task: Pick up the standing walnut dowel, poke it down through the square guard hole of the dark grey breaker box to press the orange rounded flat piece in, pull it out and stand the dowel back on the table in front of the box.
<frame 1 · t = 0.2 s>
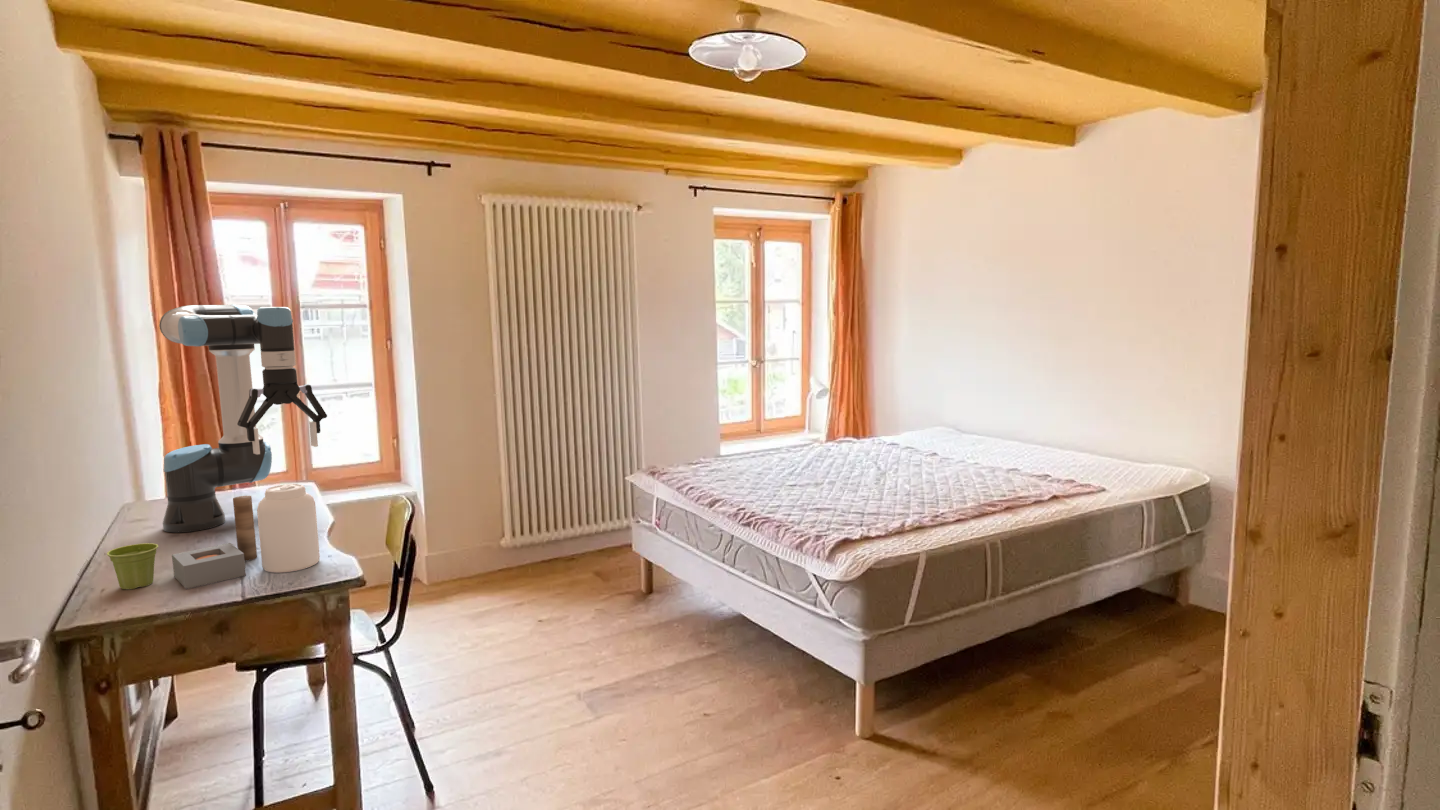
hand: (286, 449, 195), 27 cm above the table, fingers open, 13 cm apart
can: (291, 565, 188), on the table
dowel: (248, 558, 193), on the table
breaker box: (210, 576, 180), on the table
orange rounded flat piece: (208, 561, 180), point 4 cm above the table, slide at 0.0 cm
plant pot: (137, 586, 175), on the table
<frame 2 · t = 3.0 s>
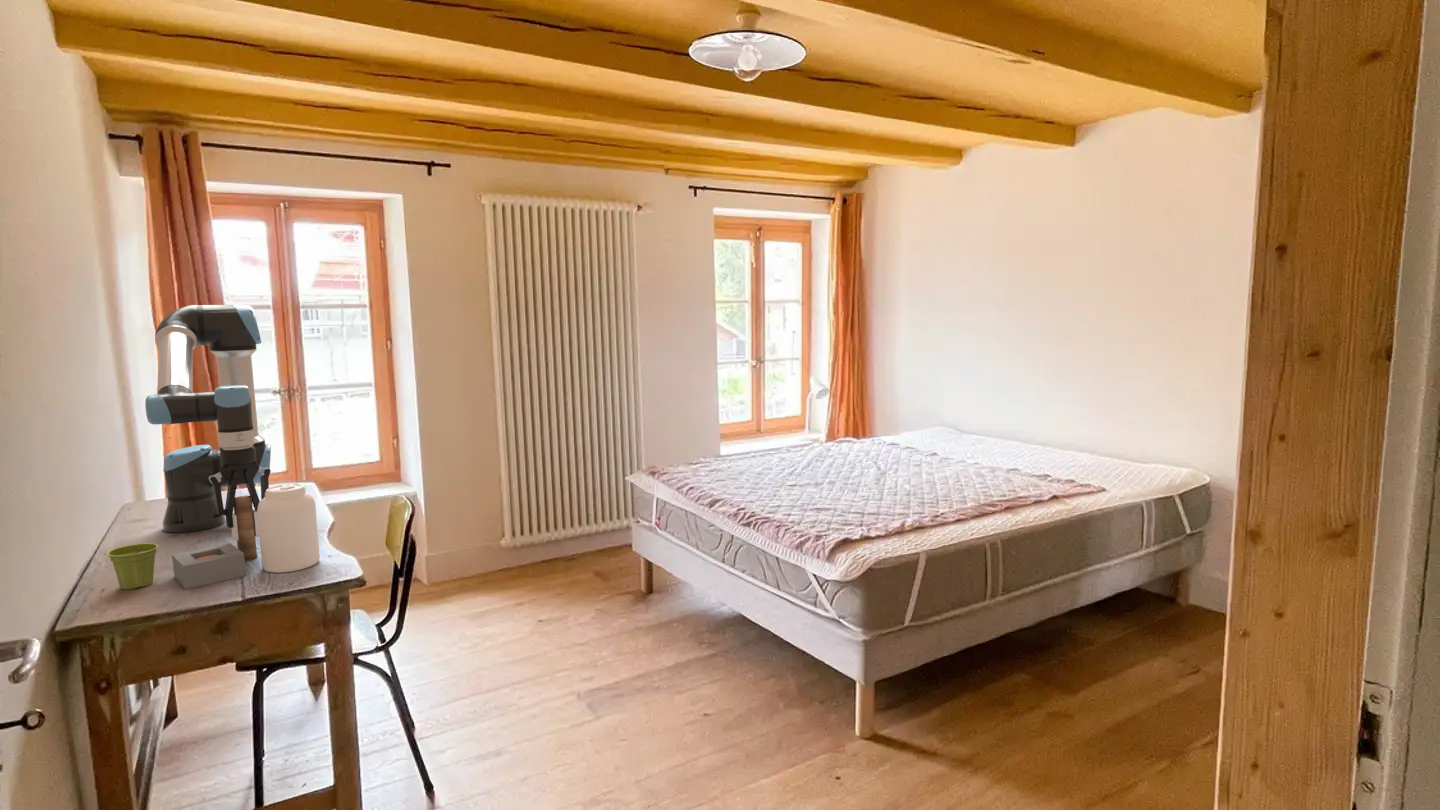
hand: (246, 537, 192), 6 cm above the table, fingers closed on dowel, 4 cm apart
dowel: (248, 558, 193), on the table, touching gripper
everything else where it was.
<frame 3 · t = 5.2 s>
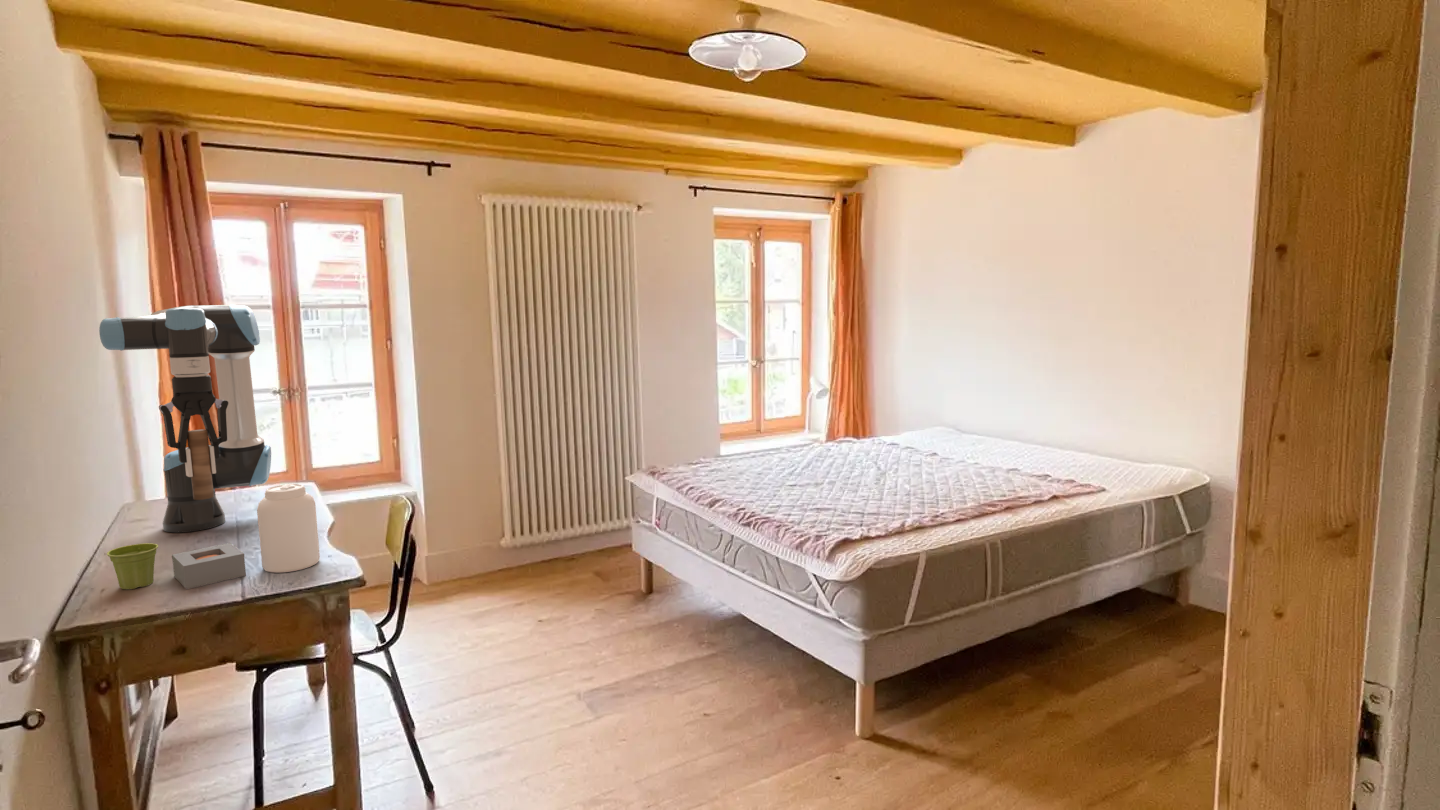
hand: (201, 474, 177), 25 cm above the table, fingers closed on dowel, 4 cm apart
dowel: (203, 497, 178), point 19 cm above the table, touching gripper
everything else where it was.
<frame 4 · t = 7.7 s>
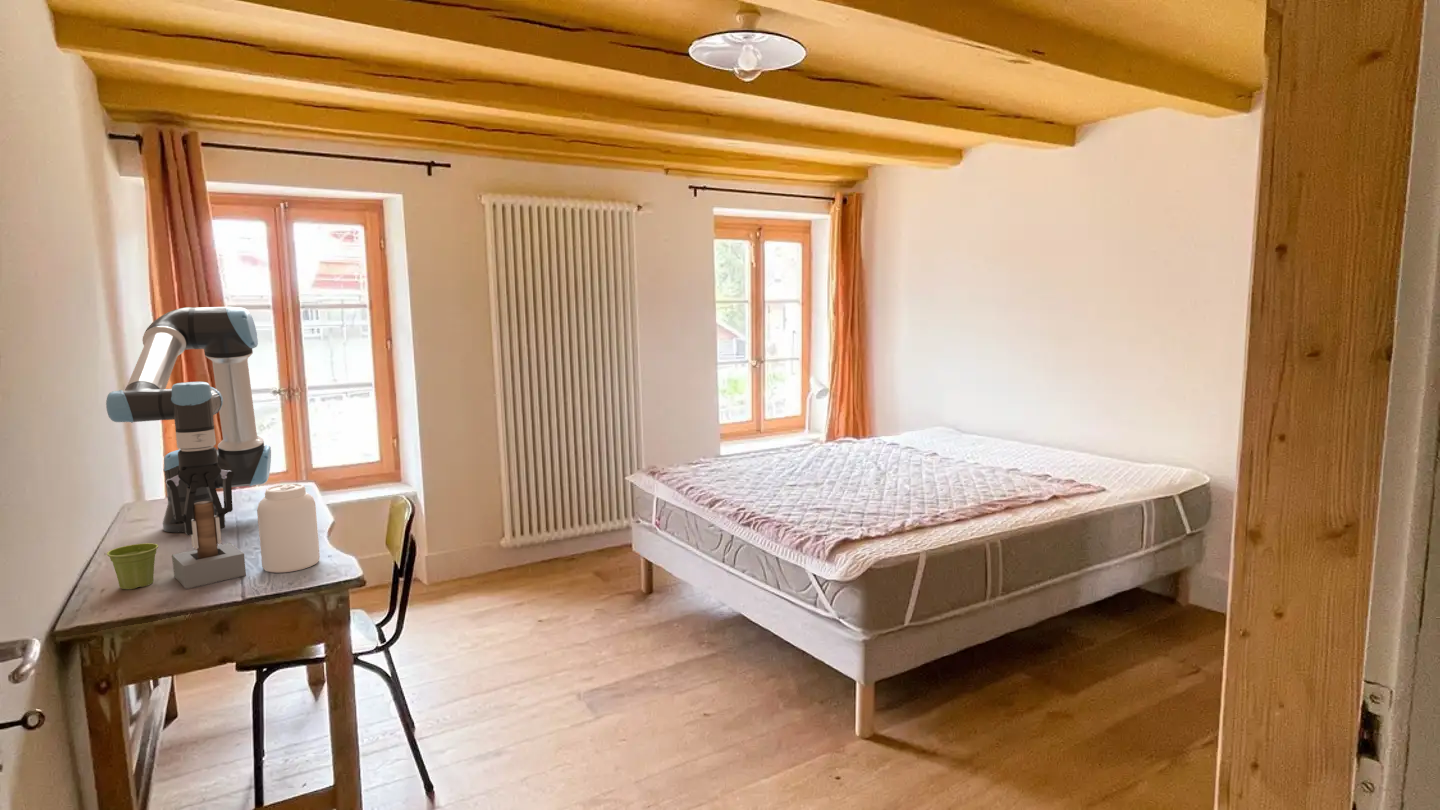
hand: (206, 544, 179), 8 cm above the table, fingers closed on dowel, 4 cm apart
dowel: (209, 568, 180), point 2 cm above the table, touching gripper, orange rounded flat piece
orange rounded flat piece: (209, 571, 180), point 1 cm above the table, slide at 2.5 cm, touching breaker box, dowel
everything else where it was.
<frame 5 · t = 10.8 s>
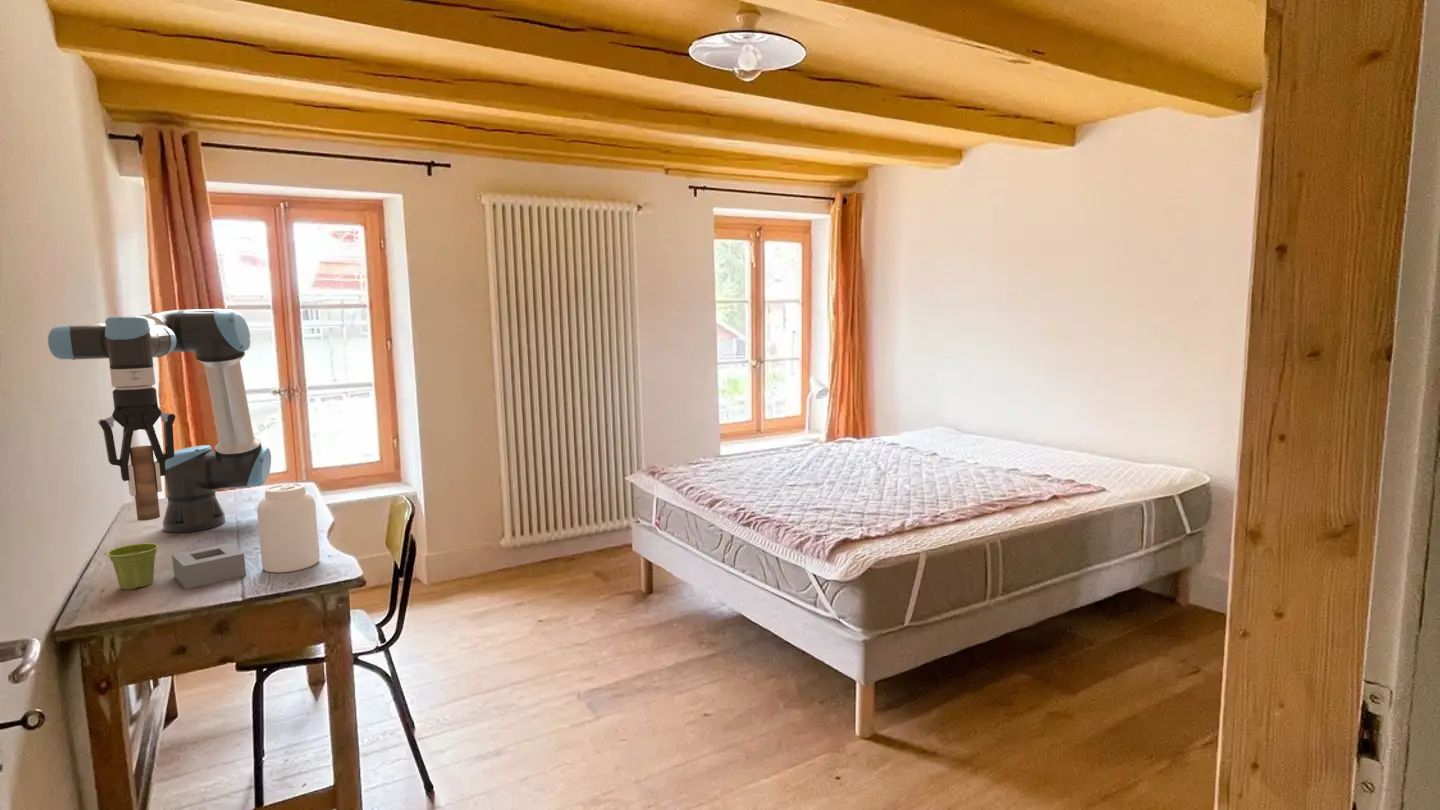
hand: (145, 492, 167), 23 cm above the table, fingers closed on dowel, 4 cm apart
dowel: (148, 518, 167), point 17 cm above the table, touching gripper
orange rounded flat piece: (209, 571, 180), point 1 cm above the table, slide at 2.5 cm, touching breaker box
everything else where it was.
when the fingers open (7 cm above the table, at t = 13.9 s): dowel stays where it is, on the table.
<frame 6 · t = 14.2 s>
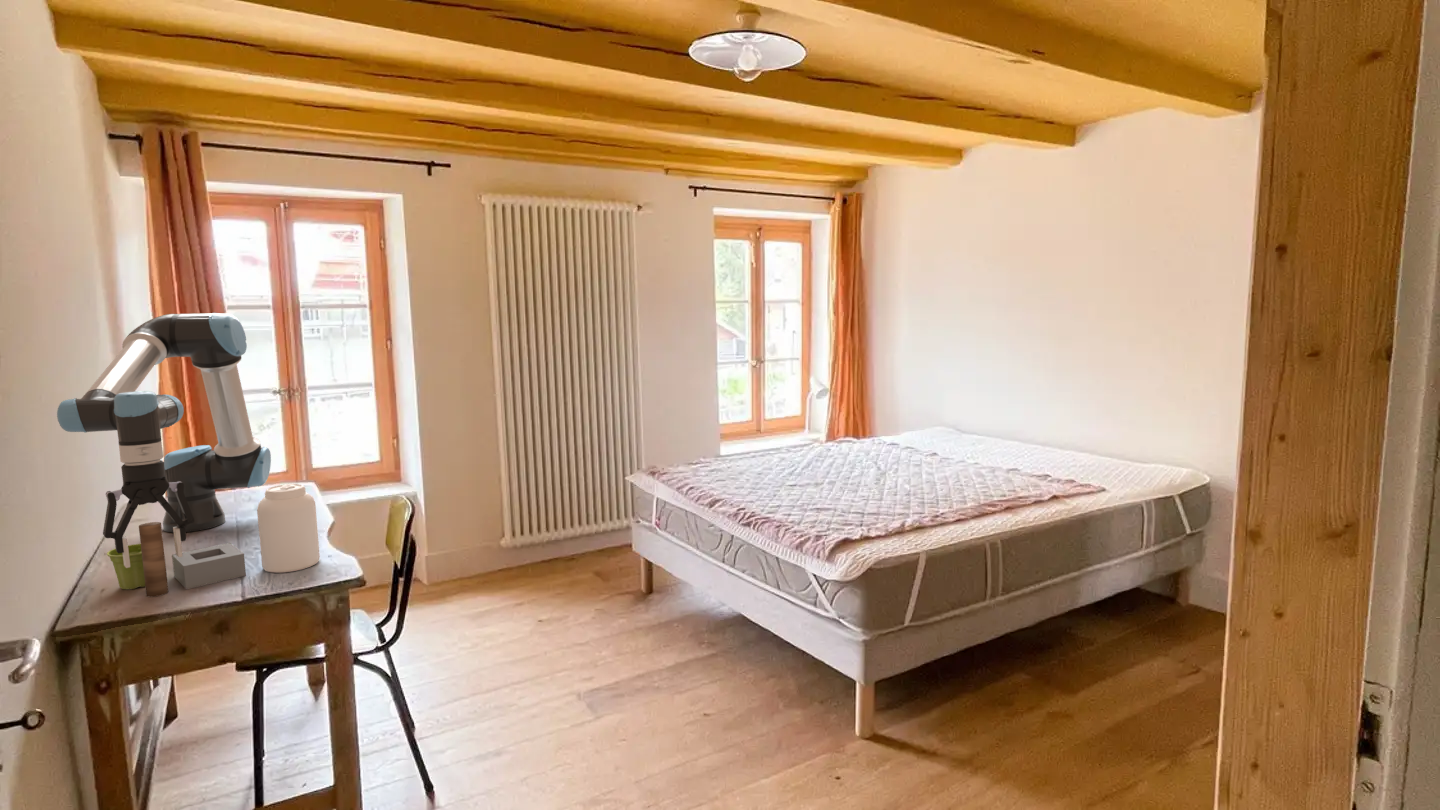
hand: (153, 560, 169), 8 cm above the table, fingers open, 9 cm apart
dowel: (157, 593, 170), on the table
everything else where it was.
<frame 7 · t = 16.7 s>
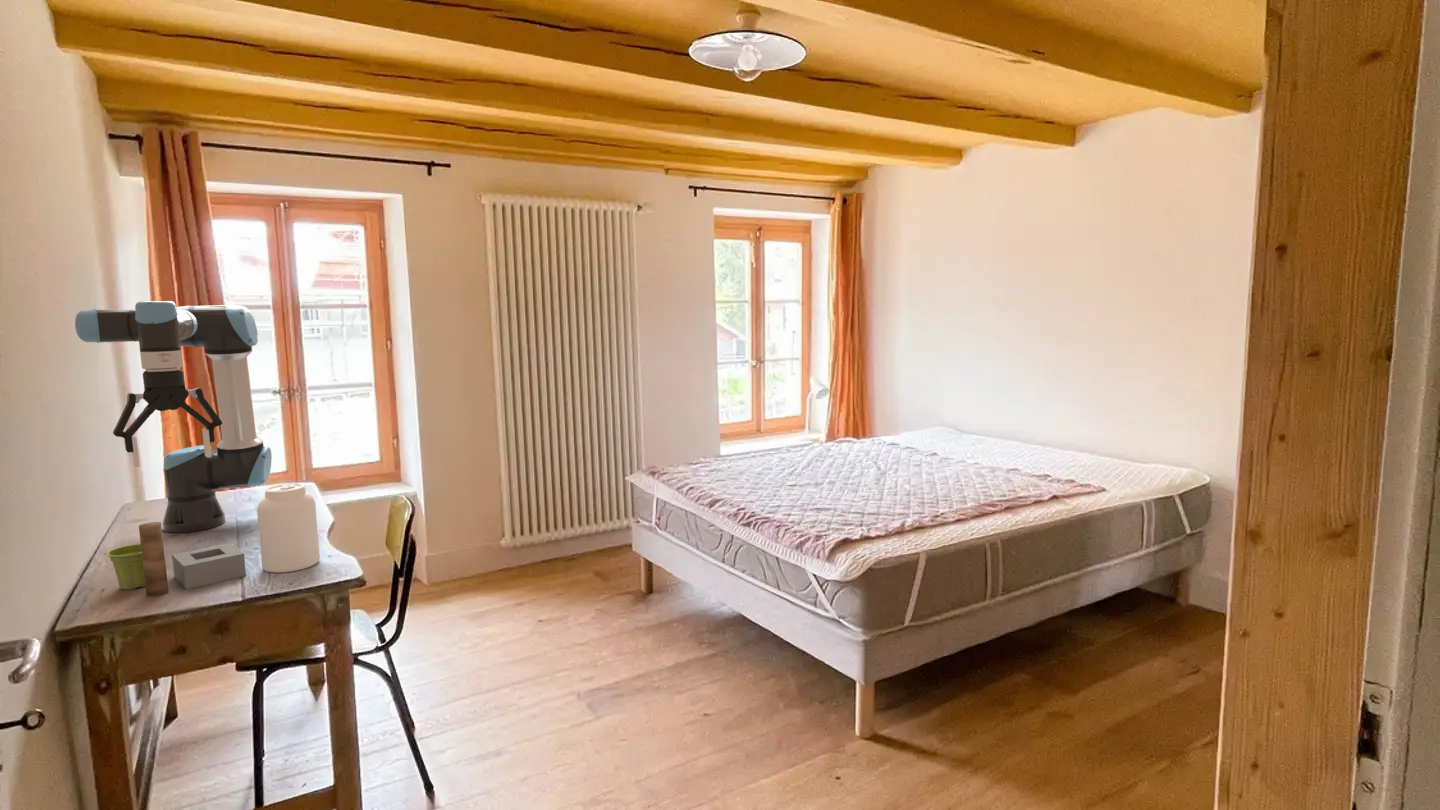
hand: (173, 461, 174), 29 cm above the table, fingers open, 13 cm apart
nothing on the table moved.
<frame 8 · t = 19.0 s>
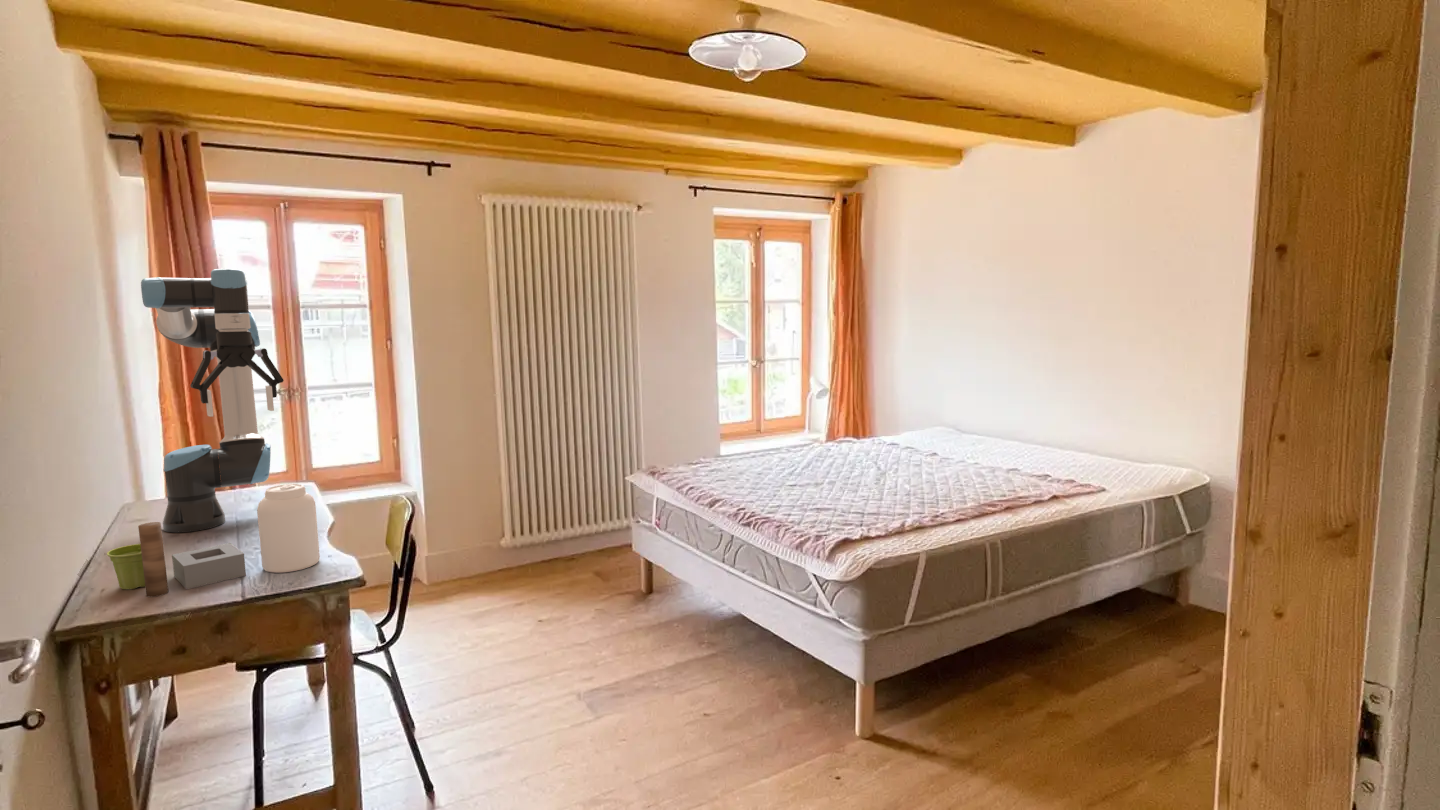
hand: (241, 413, 195), 37 cm above the table, fingers open, 13 cm apart
nothing on the table moved.
at the end: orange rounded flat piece slide at 2.5 cm; dowel inside the target area (0.1 cm from its centre), on the table; dowel tilted 0° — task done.
